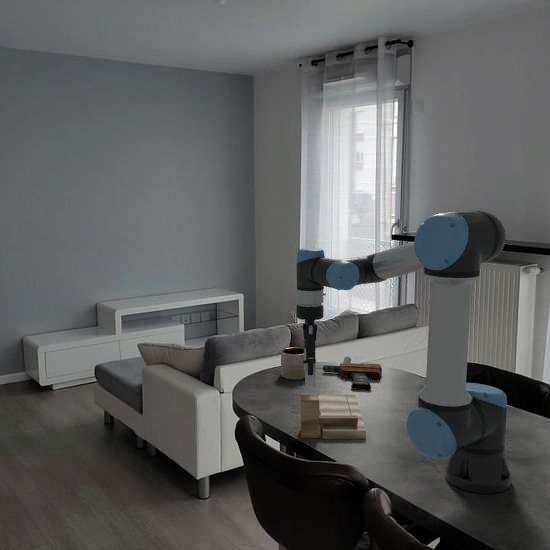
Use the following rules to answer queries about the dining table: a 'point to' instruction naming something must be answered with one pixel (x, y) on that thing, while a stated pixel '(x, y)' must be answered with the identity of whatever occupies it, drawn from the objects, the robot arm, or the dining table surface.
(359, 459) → the dining table surface
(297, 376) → the planter
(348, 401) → the board
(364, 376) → the tool
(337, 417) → the brown block with tab
